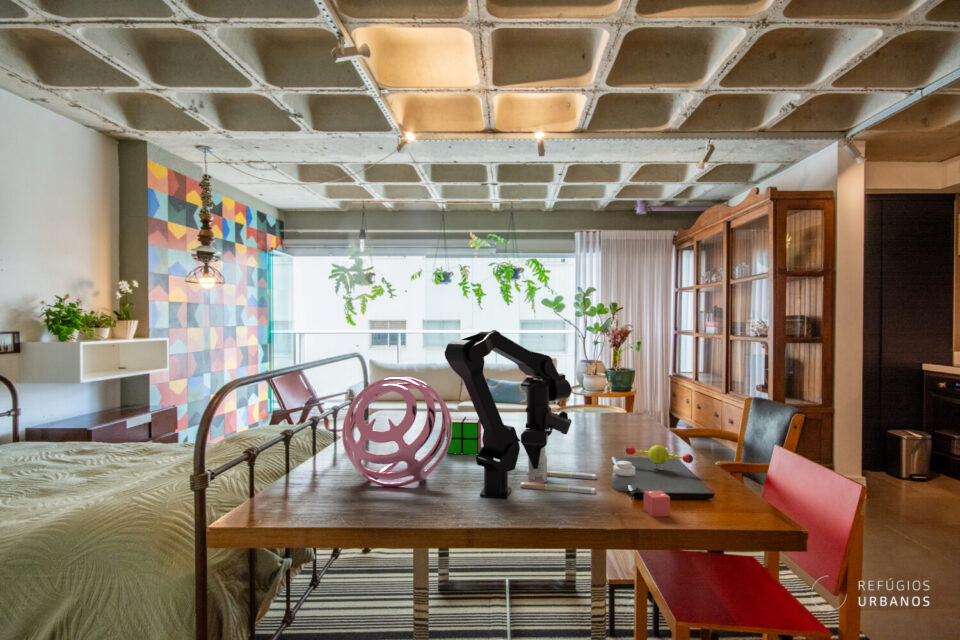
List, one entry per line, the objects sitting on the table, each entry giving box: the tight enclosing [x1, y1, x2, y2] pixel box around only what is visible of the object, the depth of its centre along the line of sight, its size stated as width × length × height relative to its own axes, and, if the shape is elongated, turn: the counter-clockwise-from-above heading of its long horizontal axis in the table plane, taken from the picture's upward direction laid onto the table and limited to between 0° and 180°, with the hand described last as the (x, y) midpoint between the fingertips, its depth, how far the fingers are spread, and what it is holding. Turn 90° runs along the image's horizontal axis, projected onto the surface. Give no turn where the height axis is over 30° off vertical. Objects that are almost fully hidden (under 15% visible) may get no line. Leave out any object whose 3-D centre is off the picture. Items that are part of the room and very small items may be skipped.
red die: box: [643, 490, 671, 518], centre depth 105 cm, size 4×4×4 cm
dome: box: [612, 460, 636, 476], centre depth 121 cm, size 5×5×2 cm
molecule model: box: [625, 444, 694, 465], centre depth 136 cm, size 18×6×7 cm, turn 58°
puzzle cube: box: [445, 415, 482, 455], centre depth 156 cm, size 10×10×10 cm
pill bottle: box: [527, 447, 548, 483], centre depth 126 cm, size 5×5×8 cm
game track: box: [519, 469, 638, 495], centre depth 124 cm, size 13×28×3 cm, turn 76°
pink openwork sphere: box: [341, 376, 452, 488], centre depth 127 cm, size 28×28×27 cm
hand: (537, 463), depth 126 cm, fingers open, 9 cm apart
